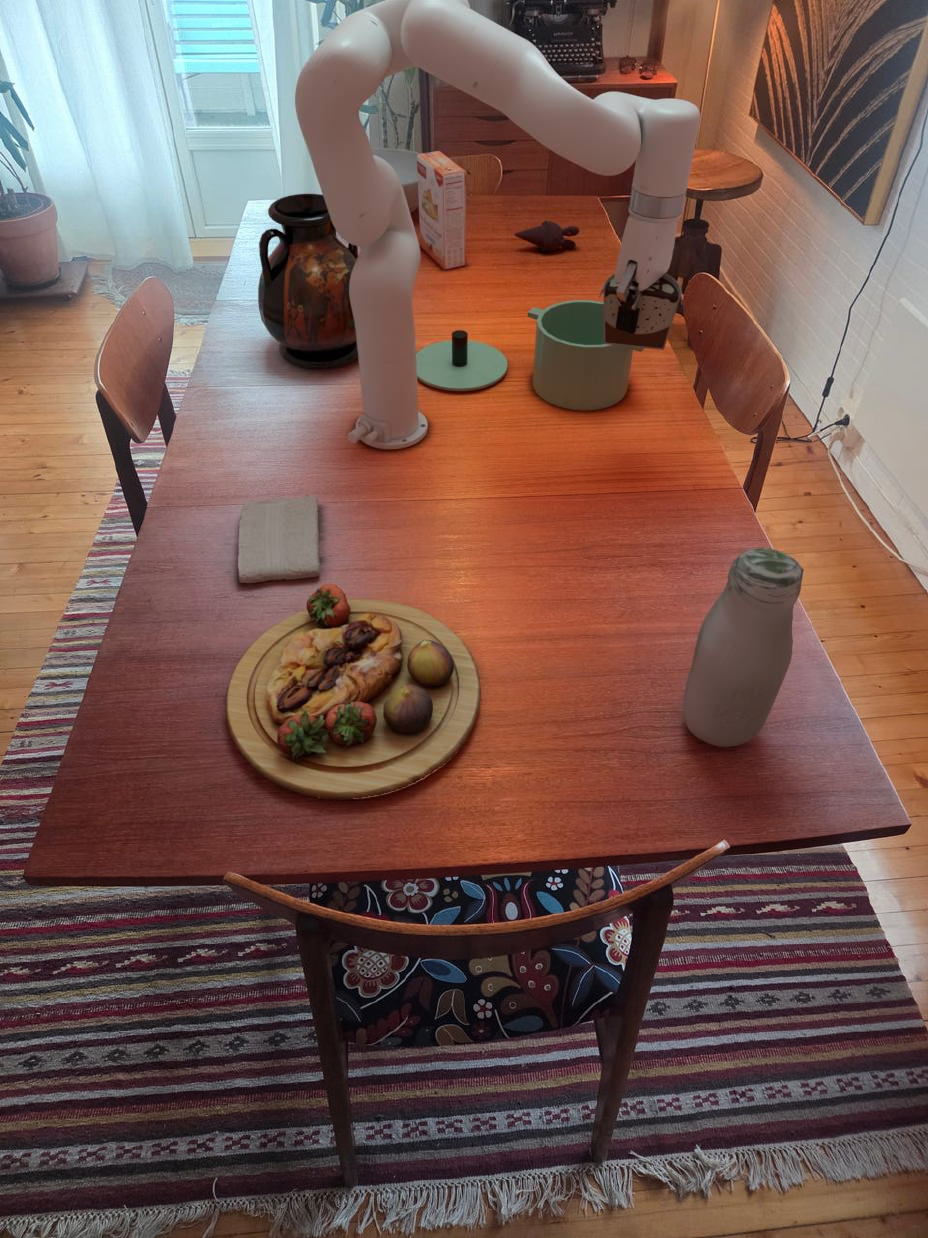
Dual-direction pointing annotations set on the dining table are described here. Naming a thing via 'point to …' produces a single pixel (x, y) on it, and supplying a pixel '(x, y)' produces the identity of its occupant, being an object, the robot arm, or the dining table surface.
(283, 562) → the washcloth
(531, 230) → the icecream
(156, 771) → the dining table surface
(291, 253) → the amphora vase
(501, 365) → the lid
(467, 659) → the wooden plate
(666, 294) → the food container
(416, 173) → the decorative bowl
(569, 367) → the pot
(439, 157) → the cracker box
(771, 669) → the glass bottle
